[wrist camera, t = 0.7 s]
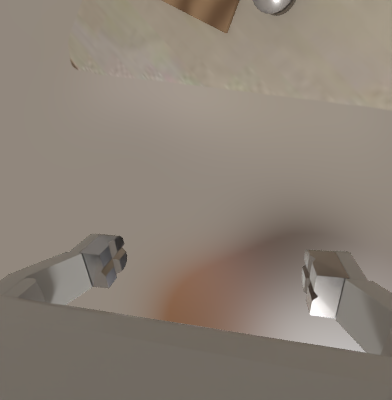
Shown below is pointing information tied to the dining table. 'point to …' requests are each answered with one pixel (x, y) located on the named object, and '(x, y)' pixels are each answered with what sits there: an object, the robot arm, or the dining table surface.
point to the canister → (274, 6)
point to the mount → (209, 11)
